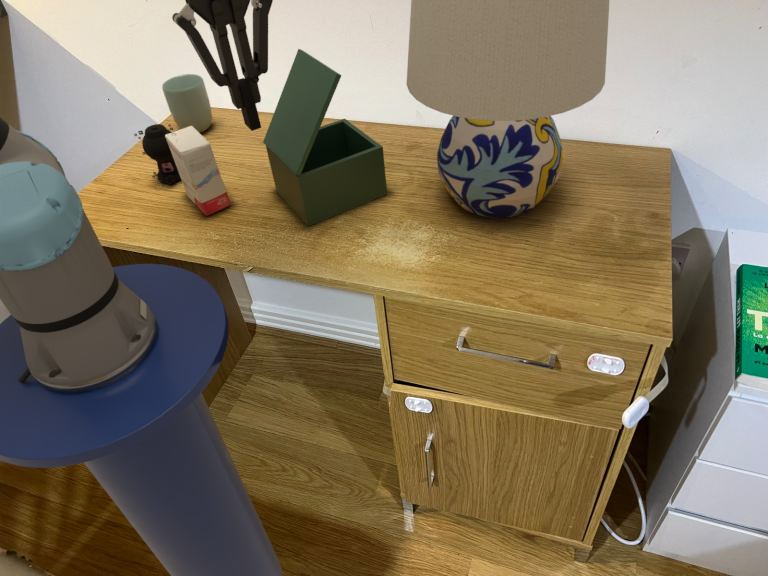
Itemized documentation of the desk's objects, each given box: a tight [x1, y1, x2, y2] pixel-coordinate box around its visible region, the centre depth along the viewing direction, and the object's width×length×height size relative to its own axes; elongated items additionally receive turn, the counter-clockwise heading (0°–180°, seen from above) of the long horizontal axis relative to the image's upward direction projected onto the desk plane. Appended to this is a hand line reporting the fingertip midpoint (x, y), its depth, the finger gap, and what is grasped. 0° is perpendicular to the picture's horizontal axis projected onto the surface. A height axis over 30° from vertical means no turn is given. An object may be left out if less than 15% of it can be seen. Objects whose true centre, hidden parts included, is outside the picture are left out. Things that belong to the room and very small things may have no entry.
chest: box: [265, 118, 388, 227], centre depth 96 cm, size 15×13×9 cm
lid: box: [262, 48, 342, 176], centre depth 88 cm, size 15×13×1 cm
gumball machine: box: [133, 123, 181, 187], centre depth 104 cm, size 7×6×10 cm
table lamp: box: [406, 0, 610, 219], centre depth 82 cm, size 27×27×40 cm
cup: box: [161, 73, 213, 134], centre depth 118 cm, size 8×8×10 cm
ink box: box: [165, 126, 232, 216], centre depth 97 cm, size 9×5×12 cm, turn 35°
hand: (253, 125), depth 85 cm, fingers closed
